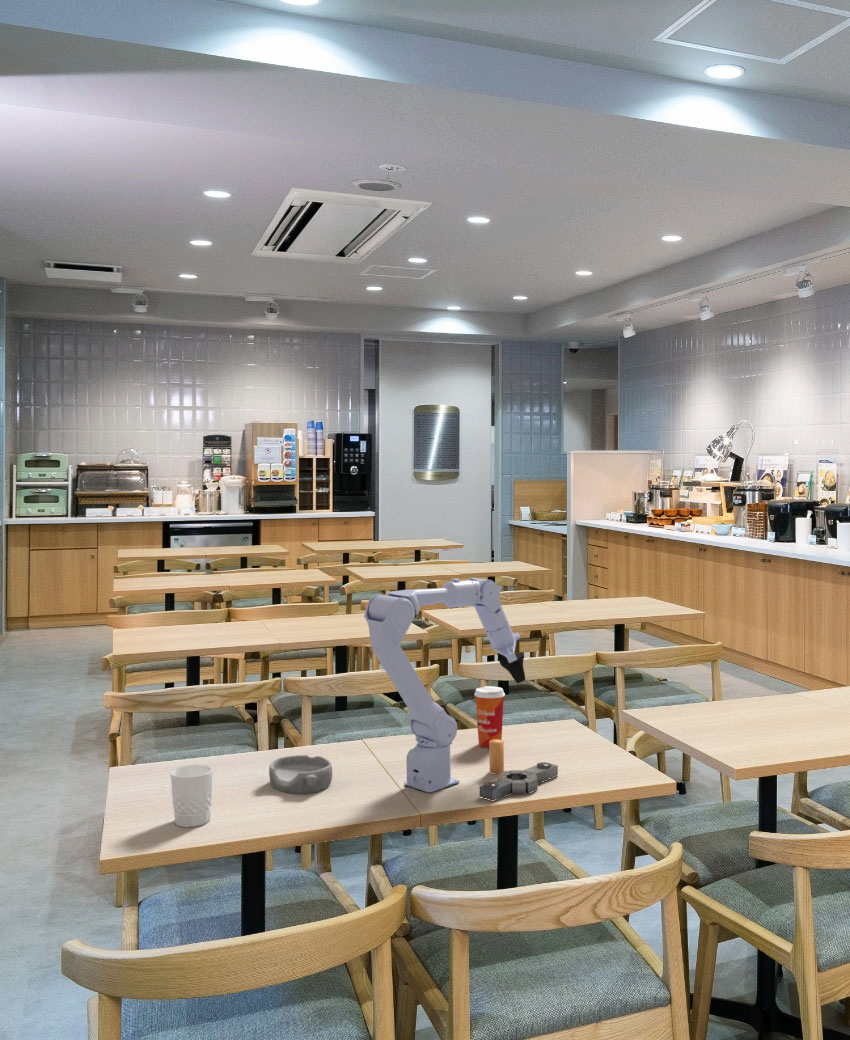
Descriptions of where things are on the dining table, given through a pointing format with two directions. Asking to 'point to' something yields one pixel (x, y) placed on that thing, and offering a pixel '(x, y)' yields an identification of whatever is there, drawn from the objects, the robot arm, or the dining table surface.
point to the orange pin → (496, 756)
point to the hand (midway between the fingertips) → (517, 673)
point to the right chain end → (529, 775)
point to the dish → (300, 774)
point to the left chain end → (501, 789)
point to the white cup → (191, 795)
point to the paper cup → (489, 714)
